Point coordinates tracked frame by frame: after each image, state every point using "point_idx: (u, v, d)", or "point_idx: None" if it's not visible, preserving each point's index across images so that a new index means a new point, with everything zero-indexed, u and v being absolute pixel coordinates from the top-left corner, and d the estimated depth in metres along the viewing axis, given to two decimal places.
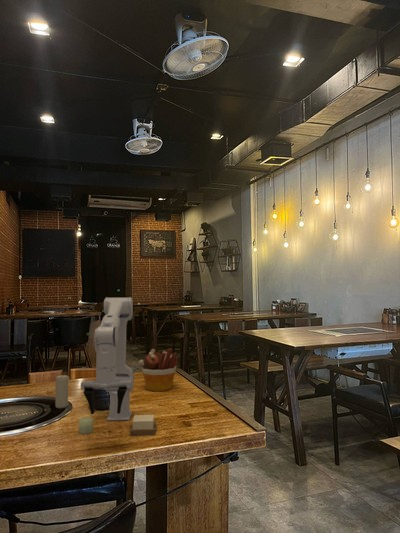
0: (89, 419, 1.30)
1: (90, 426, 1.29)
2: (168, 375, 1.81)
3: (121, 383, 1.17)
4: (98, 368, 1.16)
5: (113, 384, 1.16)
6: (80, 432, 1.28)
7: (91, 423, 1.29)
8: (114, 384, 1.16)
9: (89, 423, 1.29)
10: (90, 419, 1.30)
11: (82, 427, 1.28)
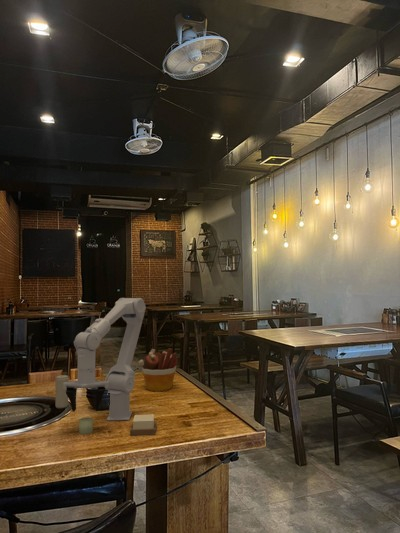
0: (89, 419, 1.30)
1: (90, 426, 1.29)
2: (168, 375, 1.81)
3: (100, 383, 1.30)
4: (79, 370, 1.29)
5: (92, 384, 1.29)
6: (80, 432, 1.28)
7: (91, 423, 1.29)
8: (93, 384, 1.29)
9: (89, 423, 1.29)
10: (90, 419, 1.30)
11: (82, 427, 1.28)
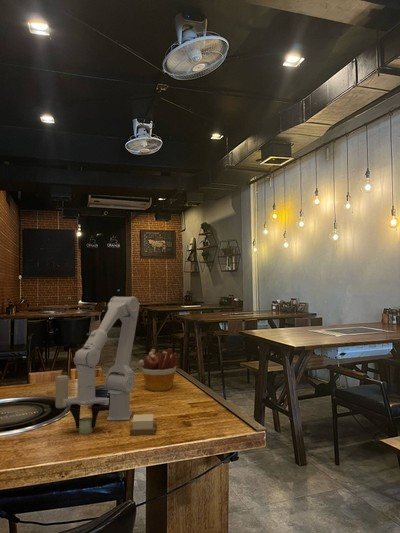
0: (89, 419, 1.30)
1: (90, 426, 1.29)
2: (168, 375, 1.81)
3: (99, 400, 1.29)
4: (79, 387, 1.29)
5: (92, 401, 1.28)
6: (80, 432, 1.28)
7: (91, 423, 1.29)
8: (93, 401, 1.28)
9: (89, 423, 1.29)
10: (90, 419, 1.30)
11: (82, 427, 1.28)
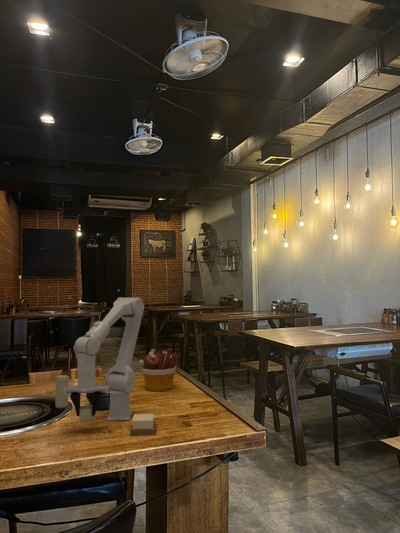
0: (89, 407, 1.30)
1: (90, 413, 1.29)
2: (168, 375, 1.81)
3: (100, 388, 1.30)
4: (79, 375, 1.29)
5: (92, 389, 1.29)
6: (80, 420, 1.28)
7: (91, 411, 1.30)
8: (93, 389, 1.29)
9: (89, 411, 1.29)
10: (90, 407, 1.30)
11: (83, 414, 1.28)
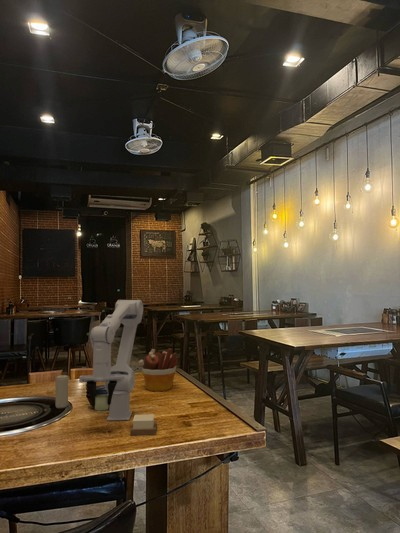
0: (105, 396, 1.30)
1: (106, 402, 1.29)
2: (168, 375, 1.81)
3: (115, 377, 1.30)
4: (95, 364, 1.29)
5: (108, 378, 1.29)
6: (96, 408, 1.29)
7: (107, 400, 1.30)
8: (109, 378, 1.29)
9: (105, 399, 1.29)
10: (106, 396, 1.31)
11: (98, 403, 1.28)
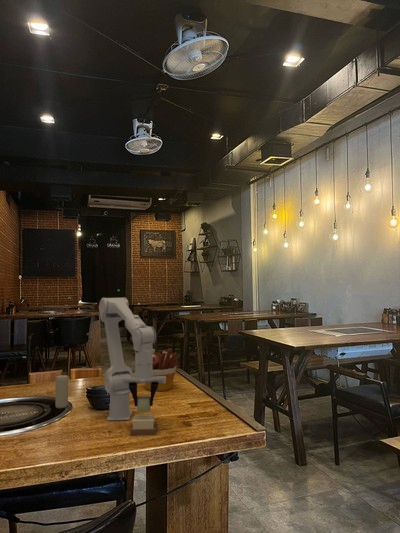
0: (147, 397, 1.30)
1: (149, 404, 1.29)
2: (168, 375, 1.81)
3: (158, 378, 1.30)
4: (137, 365, 1.29)
5: (151, 379, 1.29)
6: (139, 410, 1.29)
7: (149, 401, 1.30)
8: (151, 379, 1.29)
9: (148, 401, 1.29)
10: (148, 397, 1.31)
11: (141, 404, 1.28)
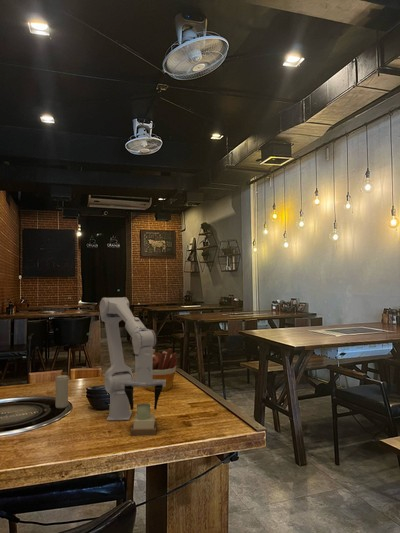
0: (147, 405, 1.30)
1: (148, 411, 1.29)
2: (168, 375, 1.81)
3: (158, 382, 1.30)
4: (137, 368, 1.29)
5: (151, 383, 1.29)
6: (139, 417, 1.29)
7: (149, 408, 1.30)
8: (151, 383, 1.29)
9: (147, 408, 1.29)
10: (147, 405, 1.31)
11: (141, 412, 1.28)
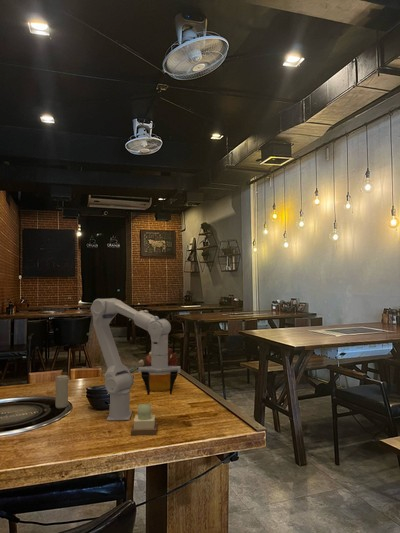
0: (148, 405, 1.31)
1: (149, 412, 1.30)
2: (168, 375, 1.81)
3: (173, 368, 1.36)
4: (153, 355, 1.36)
5: (166, 369, 1.35)
6: (139, 418, 1.29)
7: (150, 409, 1.30)
8: (167, 369, 1.35)
9: (148, 409, 1.29)
10: (148, 405, 1.31)
11: (142, 412, 1.29)
